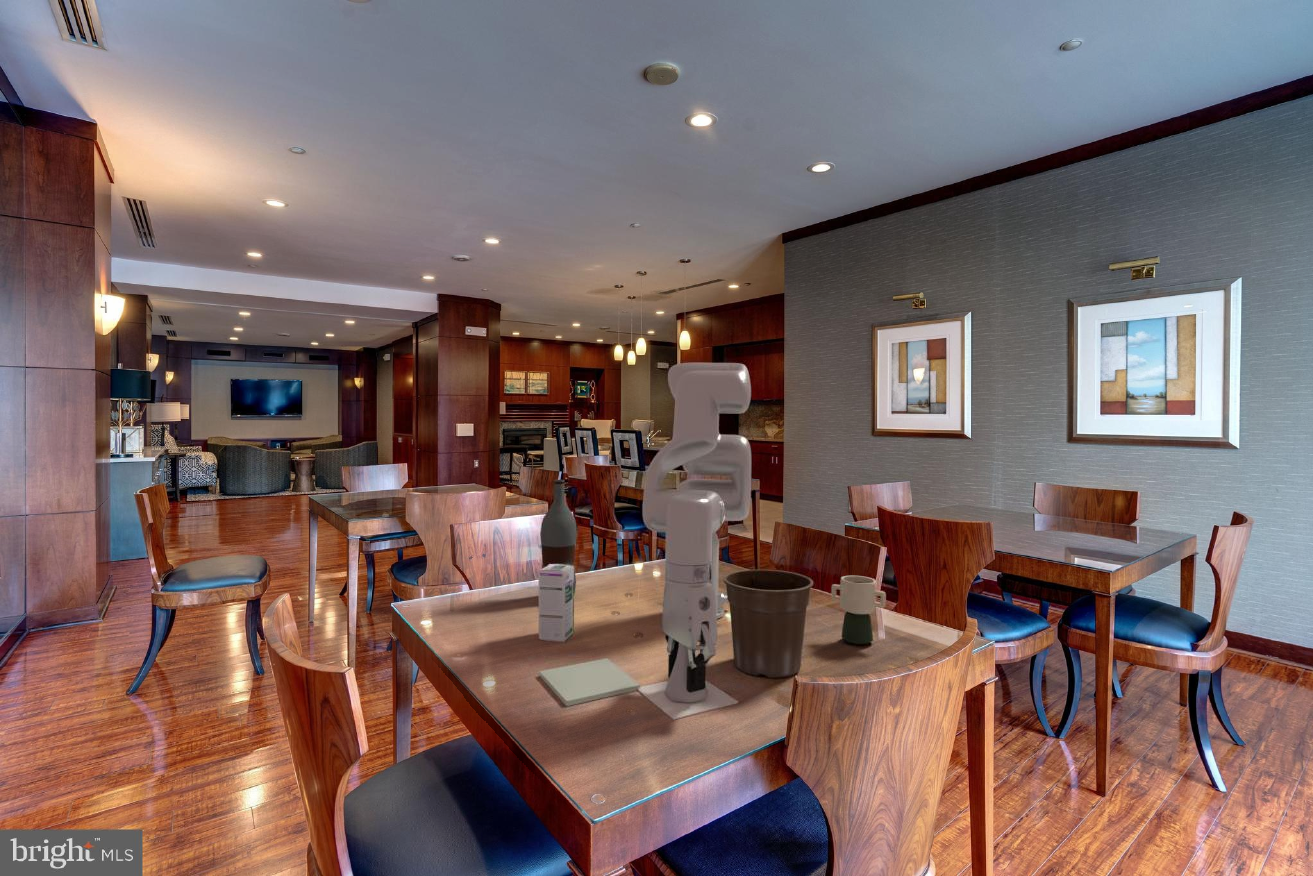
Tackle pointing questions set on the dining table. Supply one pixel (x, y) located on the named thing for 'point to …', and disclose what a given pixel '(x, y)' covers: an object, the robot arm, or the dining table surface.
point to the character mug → (858, 607)
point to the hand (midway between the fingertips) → (686, 682)
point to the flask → (682, 680)
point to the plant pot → (768, 620)
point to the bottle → (558, 532)
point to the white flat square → (685, 709)
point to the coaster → (588, 681)
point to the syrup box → (556, 602)
